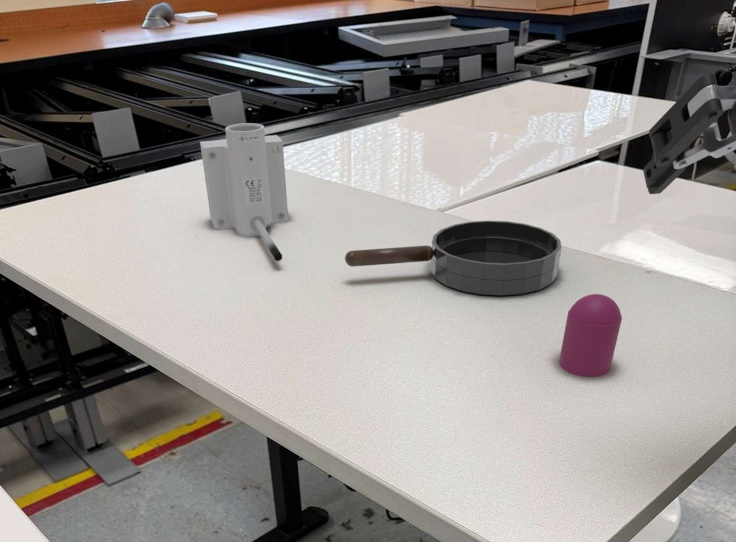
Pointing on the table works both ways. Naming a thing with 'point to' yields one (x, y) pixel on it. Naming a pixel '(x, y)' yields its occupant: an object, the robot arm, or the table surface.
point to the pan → (495, 257)
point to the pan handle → (389, 256)
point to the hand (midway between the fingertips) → (699, 178)
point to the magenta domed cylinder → (590, 336)
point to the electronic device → (246, 181)
